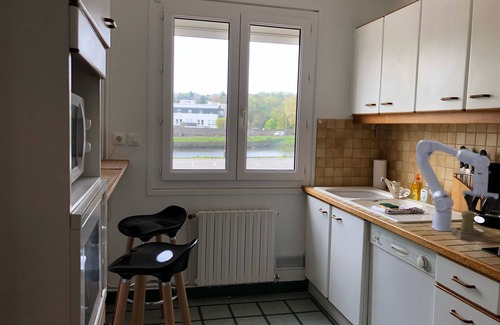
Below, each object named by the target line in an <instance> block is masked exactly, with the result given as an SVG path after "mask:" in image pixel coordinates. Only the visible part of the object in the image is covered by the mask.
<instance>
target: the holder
mask: <svg viewBox="0 0 500 325" xmlns="http://www.w3.org/2000/svg"><path fill="white" fill-rule="evenodd" d="M451 229H452V231H451V235H452V236H453V237H455V238H457V239H458V240H460V241H475V242H484V241H485V240H484V239H485V232H483V231H481V230H479V229H478V228H475V227H474V232H462V231H460V229H461V226H460V227H455V226H453V227H452V226H451Z"/></svg>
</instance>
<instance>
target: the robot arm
mask: <svg viewBox="0 0 500 325" xmlns="http://www.w3.org/2000/svg"><path fill="white" fill-rule="evenodd" d="M414 149H415V163H416V165H417V167H418V168H419V170H420V172H421V174H422V176H423V177H424V180H425V182H426V184H427V186H428V188H429V190H430V191H431V193H432V200H433V207H434V211H433V213H432V223H431V224H432V225H430V226H429V227H430V228H432V229H433V230H435V231H438V232H452V218H453V216H452V215H453V210H452V208H453V206H454V203H455V202H454V200H453V198H452V197H451V196H450V195H448V193H447V192H446V190H444V189H443V187H442V185H441V183H440V181H439V179H438V177H437V175H436V173H435V172H434V169H433V167H432V166H431V164H430V162H429V160H430V157H431V155H432V154H433V153H434V152H436V151H437V152H441V153H446V154H448V155H451V156H454V157H456V158H457V161H459V162H462V163H464V164H467V165H469V166H473V167H474V170H473V186H472V190H462V196H463V199H464V201H465V202H466V206H467V211H471V212H473V201H474V197H478V198H479V197H481V198H485V202H486V211H485V212H486V215H489V214H491V210H492V207H493V205H494V204H495V202H496V201H497V199H499V193H493V192H488V184H489V166H490V165H491V160H490V159H489V157H488V156H486V155H481V153H476V152H474V151H471V150H470V149H469V148H462V149H457V148H455V147H452V146H449V145H448V144H445V143H443V142H439V141H437V140H432V139H421V140H419V141H418V142H417V144H416V147H415V148H414Z"/></svg>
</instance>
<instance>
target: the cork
mask: <svg viewBox="0 0 500 325" xmlns="http://www.w3.org/2000/svg"><path fill="white" fill-rule="evenodd" d="M475 215H476V214H475V212H474V211H468V210H463V211H462V212H461V218H462V220H461V224H460V227H461V229H460V231H462V232H474V228H475V227H474V219H475V217H476V216H475Z"/></svg>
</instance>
